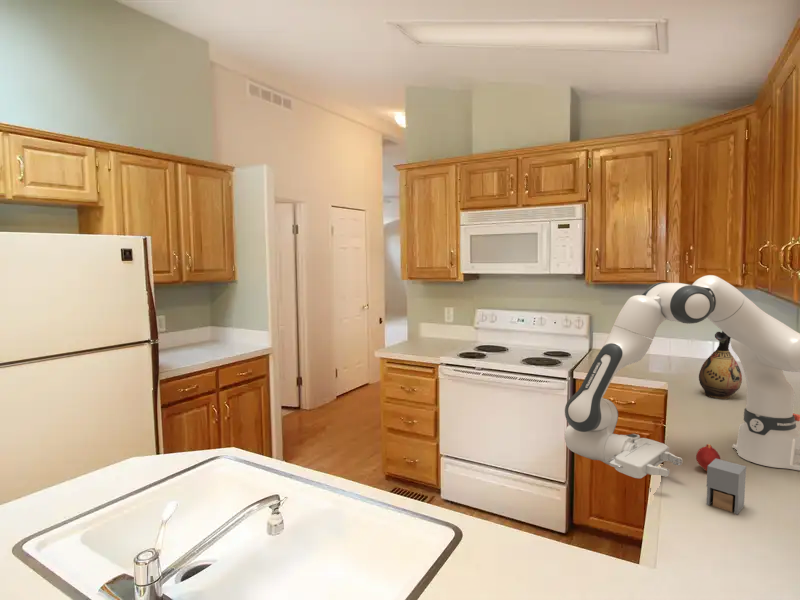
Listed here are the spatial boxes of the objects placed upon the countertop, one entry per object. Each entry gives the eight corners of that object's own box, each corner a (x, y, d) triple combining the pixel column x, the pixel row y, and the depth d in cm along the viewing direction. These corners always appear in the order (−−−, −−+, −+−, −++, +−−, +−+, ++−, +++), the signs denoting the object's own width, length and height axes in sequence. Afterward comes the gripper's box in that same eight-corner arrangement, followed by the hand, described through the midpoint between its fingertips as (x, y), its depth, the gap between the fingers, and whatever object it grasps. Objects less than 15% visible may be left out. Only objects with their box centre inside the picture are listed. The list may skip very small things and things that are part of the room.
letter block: (717, 500, 121) (718, 484, 121) (736, 506, 118) (737, 490, 118) (712, 506, 118) (713, 489, 118) (732, 512, 115) (732, 495, 115)
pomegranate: (697, 465, 141) (698, 438, 140) (721, 470, 138) (722, 443, 137) (694, 472, 137) (695, 444, 136) (718, 477, 133) (719, 449, 132)
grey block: (713, 496, 123) (715, 458, 122) (743, 506, 118) (746, 466, 117) (705, 505, 118) (707, 465, 118) (736, 515, 114) (738, 474, 113)
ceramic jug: (734, 404, 198) (738, 331, 196) (692, 396, 210) (696, 327, 207) (746, 395, 210) (750, 327, 207) (705, 388, 221) (709, 323, 219)
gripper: (604, 451, 129) (660, 467, 119) (636, 432, 143) (688, 445, 133) (603, 474, 130) (659, 492, 120) (635, 452, 143) (687, 467, 133)
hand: (675, 467), depth 126 cm, fingers open, 8 cm apart
